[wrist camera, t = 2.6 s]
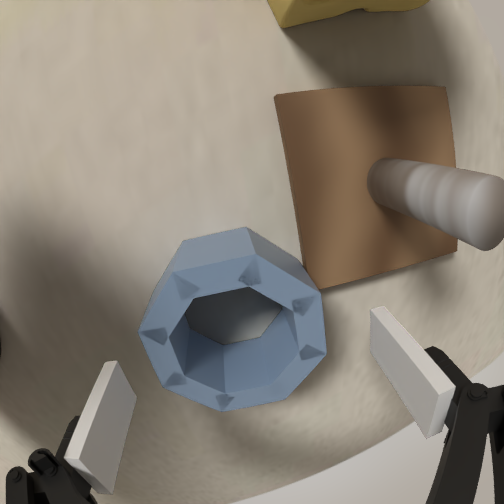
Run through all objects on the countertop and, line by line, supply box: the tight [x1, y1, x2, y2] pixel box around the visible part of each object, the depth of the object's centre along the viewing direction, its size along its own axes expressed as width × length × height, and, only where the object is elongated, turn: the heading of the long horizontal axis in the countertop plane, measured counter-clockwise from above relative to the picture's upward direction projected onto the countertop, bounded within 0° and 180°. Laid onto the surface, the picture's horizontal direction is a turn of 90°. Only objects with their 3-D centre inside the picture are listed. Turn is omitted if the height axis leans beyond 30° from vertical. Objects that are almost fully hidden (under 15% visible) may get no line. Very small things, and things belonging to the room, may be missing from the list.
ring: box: [138, 227, 327, 412], centre depth 18 cm, size 9×9×5 cm
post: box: [274, 86, 504, 290], centre depth 14 cm, size 12×12×10 cm
